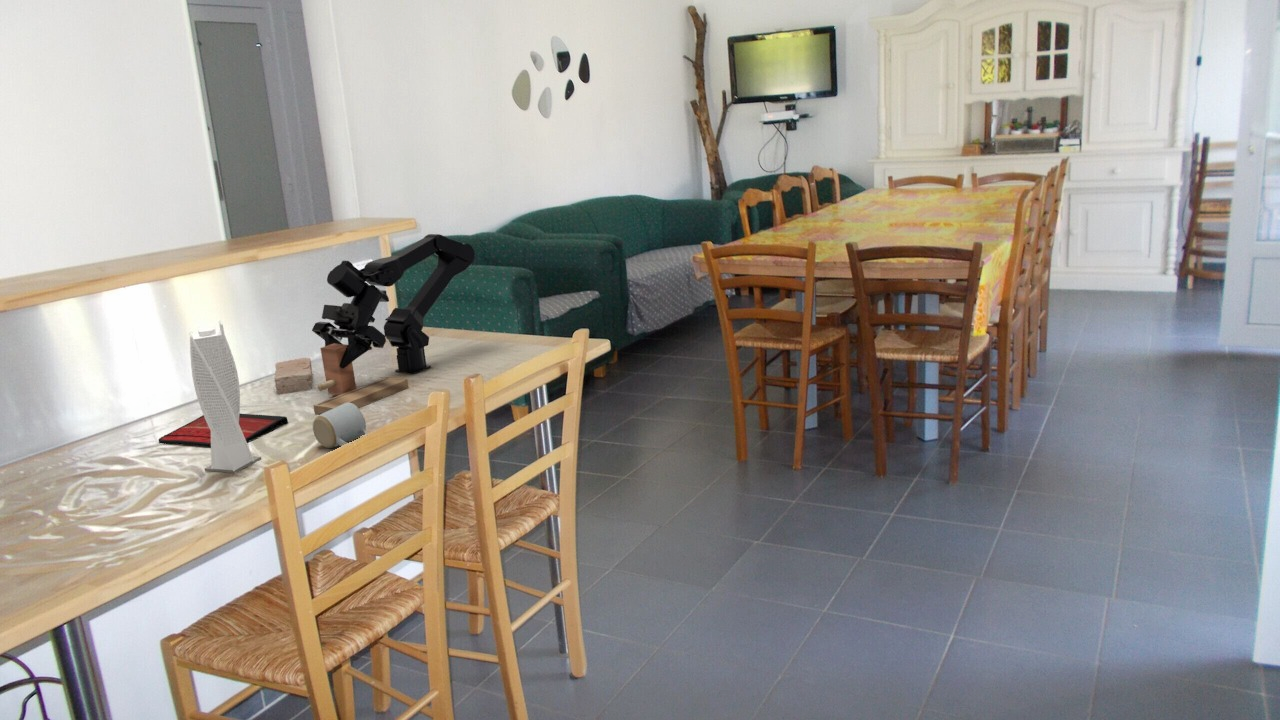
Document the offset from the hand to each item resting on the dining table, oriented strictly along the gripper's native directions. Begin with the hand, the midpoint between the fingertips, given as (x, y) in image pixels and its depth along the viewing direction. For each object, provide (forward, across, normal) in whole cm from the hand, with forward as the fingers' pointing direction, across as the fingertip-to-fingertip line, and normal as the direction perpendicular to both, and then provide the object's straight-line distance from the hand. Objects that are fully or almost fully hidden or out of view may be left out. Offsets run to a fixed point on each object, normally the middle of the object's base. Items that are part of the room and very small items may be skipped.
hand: (333, 366), depth 213 cm
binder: (+24, -5, -13) cm, 28 cm away
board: (+5, +8, +5) cm, 11 cm away
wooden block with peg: (+5, 0, +4) cm, 7 cm away
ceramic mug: (+21, +27, -10) cm, 35 cm away
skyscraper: (+32, +15, -22) cm, 42 cm away
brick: (+2, -20, +9) cm, 22 cm away
